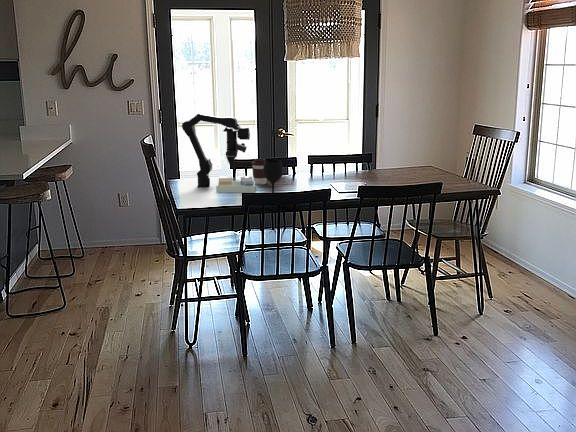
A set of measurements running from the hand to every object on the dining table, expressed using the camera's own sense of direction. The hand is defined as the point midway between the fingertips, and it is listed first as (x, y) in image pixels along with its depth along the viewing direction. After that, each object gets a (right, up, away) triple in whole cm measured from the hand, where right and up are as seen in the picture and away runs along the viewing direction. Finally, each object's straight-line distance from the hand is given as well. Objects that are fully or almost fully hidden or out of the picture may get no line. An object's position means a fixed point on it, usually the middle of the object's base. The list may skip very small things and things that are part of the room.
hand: (232, 166), depth 359 cm
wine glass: (+24, -19, -27) cm, 41 cm away
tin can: (+9, -14, -8) cm, 18 cm away
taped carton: (-3, -14, -8) cm, 16 cm away
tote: (+3, -14, -8) cm, 16 cm away
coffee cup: (+16, -10, +11) cm, 22 cm away
